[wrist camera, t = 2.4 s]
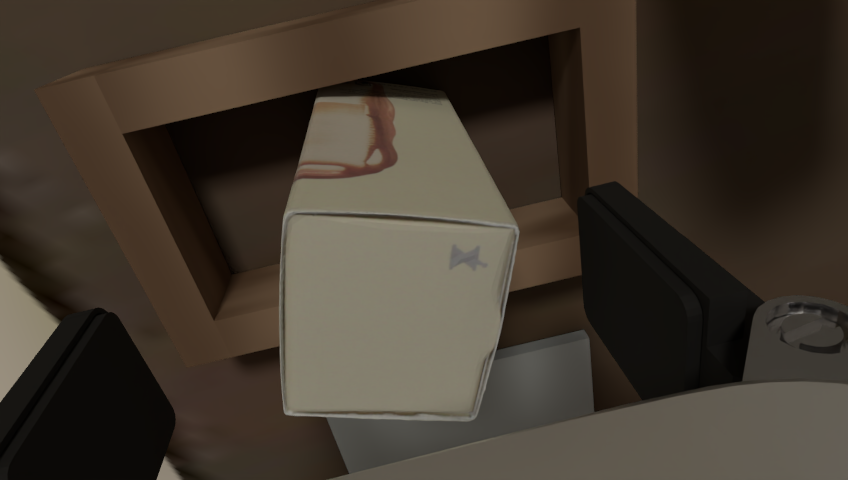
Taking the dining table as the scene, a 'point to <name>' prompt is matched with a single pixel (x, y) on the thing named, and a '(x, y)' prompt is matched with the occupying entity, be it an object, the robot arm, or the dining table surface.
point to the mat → (484, 405)
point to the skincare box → (391, 260)
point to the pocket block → (315, 68)
